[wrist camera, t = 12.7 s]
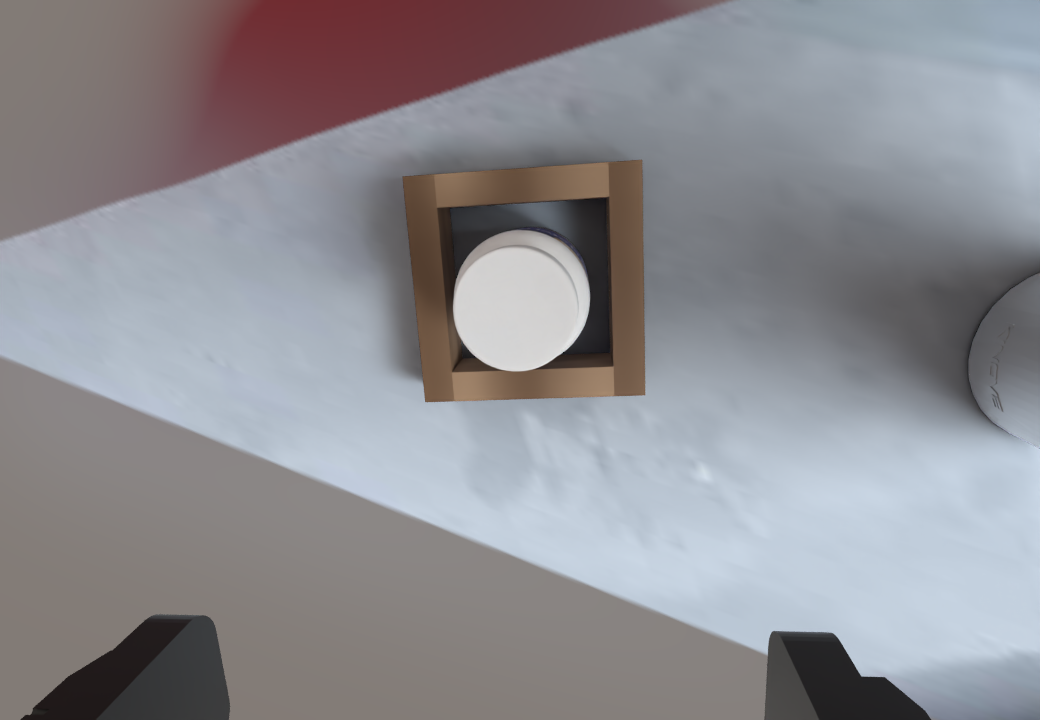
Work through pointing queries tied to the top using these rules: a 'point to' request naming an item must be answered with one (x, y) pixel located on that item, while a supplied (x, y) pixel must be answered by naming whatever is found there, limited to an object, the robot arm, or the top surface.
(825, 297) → the top surface
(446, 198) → the socket block
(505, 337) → the pill bottle
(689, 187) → the top surface
